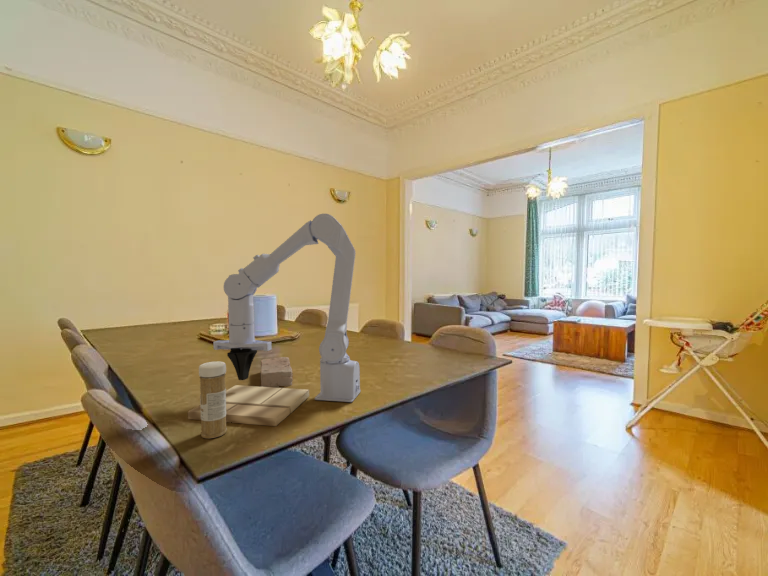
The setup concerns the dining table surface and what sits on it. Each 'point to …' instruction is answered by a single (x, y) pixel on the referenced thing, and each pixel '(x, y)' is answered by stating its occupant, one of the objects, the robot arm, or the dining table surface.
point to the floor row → (249, 413)
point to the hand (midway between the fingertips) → (243, 379)
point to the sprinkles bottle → (212, 399)
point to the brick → (276, 372)
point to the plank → (267, 396)
